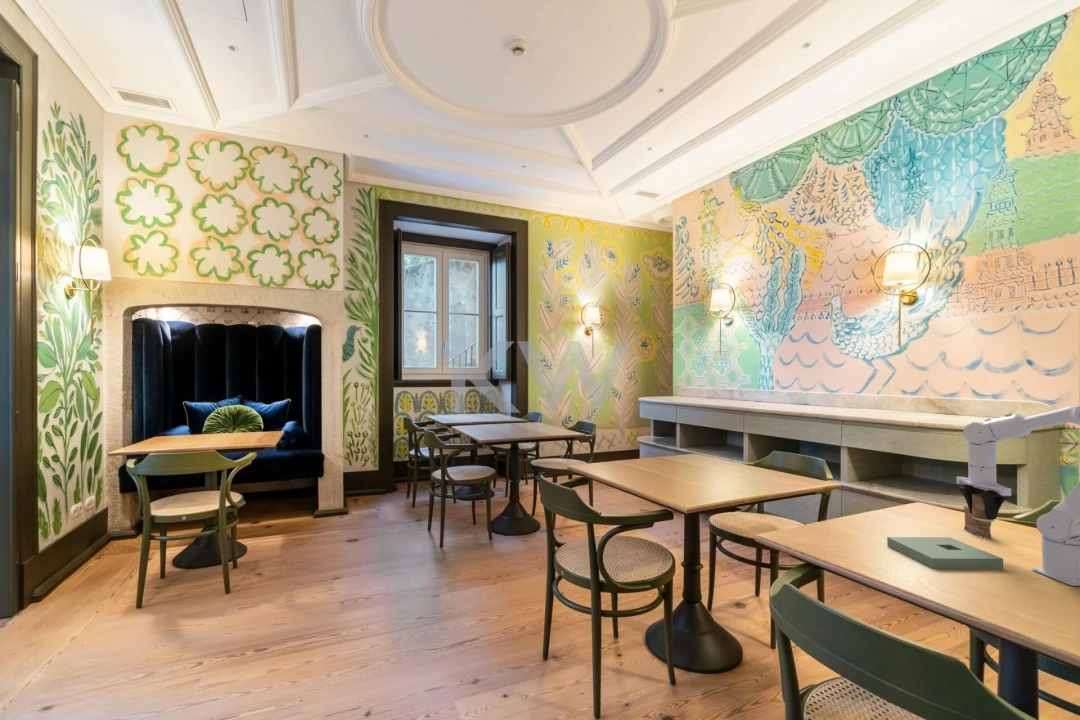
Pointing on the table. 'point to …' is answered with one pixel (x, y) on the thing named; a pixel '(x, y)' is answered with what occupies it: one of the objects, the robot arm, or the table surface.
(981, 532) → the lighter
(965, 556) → the board
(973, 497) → the peg
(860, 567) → the table surface
